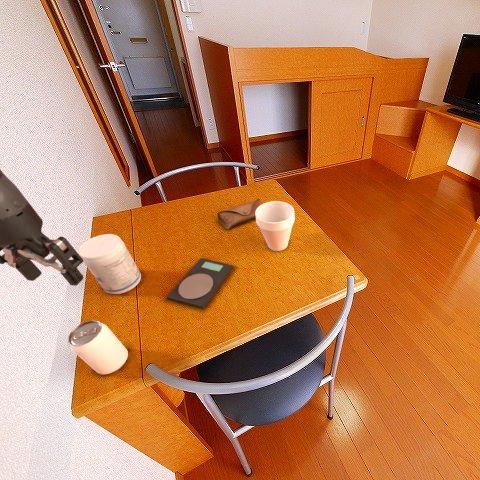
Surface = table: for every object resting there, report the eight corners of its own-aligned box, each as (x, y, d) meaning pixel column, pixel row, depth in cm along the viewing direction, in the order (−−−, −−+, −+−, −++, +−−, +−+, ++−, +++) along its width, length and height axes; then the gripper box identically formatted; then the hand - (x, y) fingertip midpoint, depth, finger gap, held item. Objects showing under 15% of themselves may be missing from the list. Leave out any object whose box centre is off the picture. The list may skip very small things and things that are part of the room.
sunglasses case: (227, 229, 99) (220, 212, 97) (222, 229, 105) (215, 212, 103) (270, 213, 108) (265, 196, 106) (264, 213, 113) (258, 197, 112)
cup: (301, 238, 97) (301, 206, 88) (285, 260, 88) (282, 227, 80) (271, 229, 100) (267, 197, 92) (252, 250, 92) (246, 217, 83)
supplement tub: (97, 286, 78) (68, 248, 69) (129, 266, 85) (107, 228, 75) (117, 301, 75) (89, 263, 65) (149, 279, 81) (128, 241, 71)
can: (97, 353, 64) (68, 325, 56) (129, 343, 66) (105, 314, 58) (93, 380, 59) (61, 353, 51) (128, 368, 61) (102, 340, 54)
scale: (203, 309, 74) (201, 305, 73) (168, 299, 76) (166, 296, 75) (233, 267, 85) (232, 264, 84) (201, 260, 87) (200, 256, 86)
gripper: (-80, 218, 39) (2, 291, 49) (13, 227, 38) (77, 299, 49) (-24, 191, 45) (39, 262, 55) (58, 198, 44) (106, 269, 54)
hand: (57, 279), depth 52 cm, fingers open, 8 cm apart
